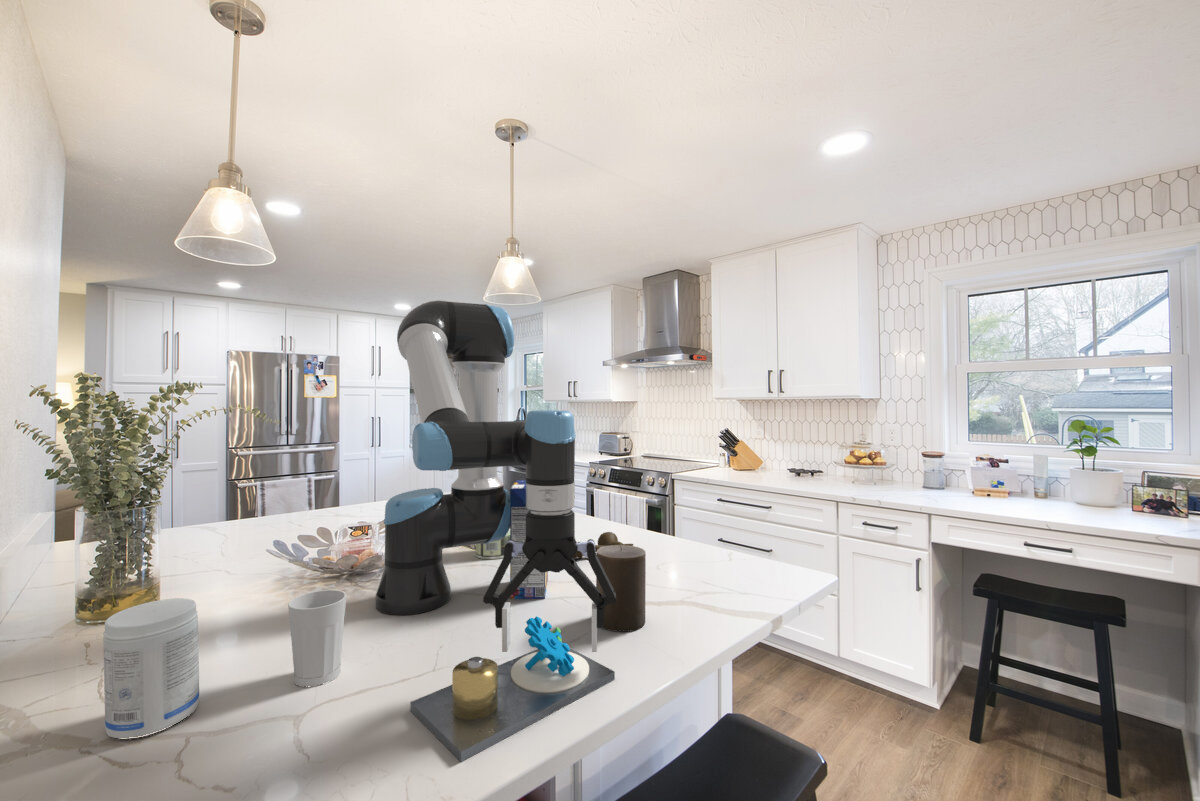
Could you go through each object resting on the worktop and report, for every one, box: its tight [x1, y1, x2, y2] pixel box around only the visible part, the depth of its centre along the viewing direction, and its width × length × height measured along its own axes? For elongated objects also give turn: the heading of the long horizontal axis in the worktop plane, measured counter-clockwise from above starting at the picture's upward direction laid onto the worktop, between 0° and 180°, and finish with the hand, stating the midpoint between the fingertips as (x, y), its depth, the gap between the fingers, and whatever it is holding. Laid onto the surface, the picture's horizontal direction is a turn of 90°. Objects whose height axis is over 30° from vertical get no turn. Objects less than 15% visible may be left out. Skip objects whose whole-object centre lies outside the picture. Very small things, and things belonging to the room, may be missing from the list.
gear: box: [524, 616, 574, 676], centre depth 79 cm, size 11×6×10 cm
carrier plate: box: [409, 647, 616, 763], centre depth 74 cm, size 26×14×7 cm, turn 134°
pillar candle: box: [595, 544, 647, 632], centre depth 99 cm, size 10×10×15 cm
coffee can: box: [475, 528, 510, 560], centre depth 144 cm, size 10×10×14 cm
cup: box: [287, 589, 348, 688], centre depth 80 cm, size 8×8×12 cm
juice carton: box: [509, 479, 549, 600], centre depth 116 cm, size 12×8×24 cm, turn 3°
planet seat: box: [511, 652, 589, 693], centre depth 79 cm, size 12×12×1 cm
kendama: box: [573, 531, 634, 559], centre depth 140 cm, size 6×10×20 cm
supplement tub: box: [102, 597, 200, 739], centre depth 69 cm, size 10×10×15 cm
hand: (550, 648), depth 79 cm, fingers open, 13 cm apart
